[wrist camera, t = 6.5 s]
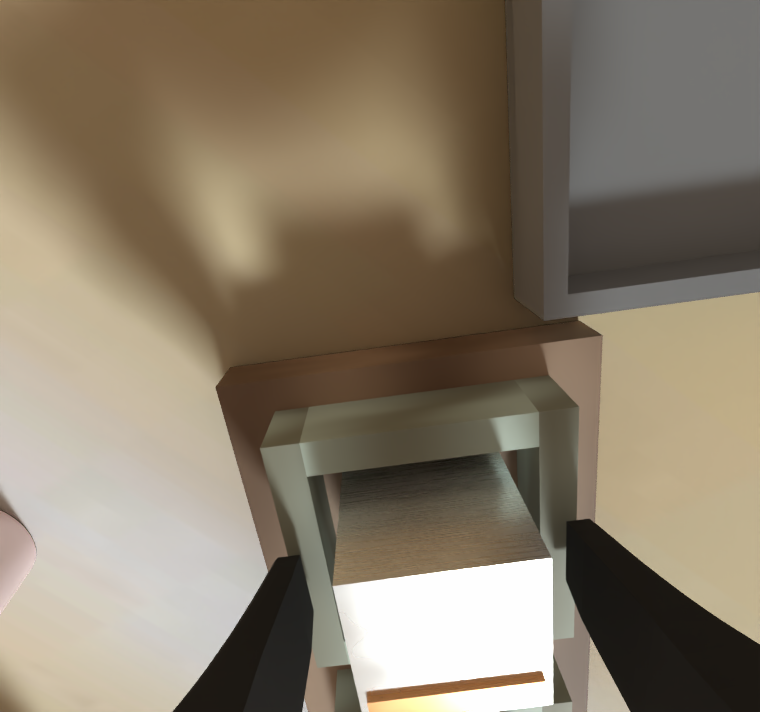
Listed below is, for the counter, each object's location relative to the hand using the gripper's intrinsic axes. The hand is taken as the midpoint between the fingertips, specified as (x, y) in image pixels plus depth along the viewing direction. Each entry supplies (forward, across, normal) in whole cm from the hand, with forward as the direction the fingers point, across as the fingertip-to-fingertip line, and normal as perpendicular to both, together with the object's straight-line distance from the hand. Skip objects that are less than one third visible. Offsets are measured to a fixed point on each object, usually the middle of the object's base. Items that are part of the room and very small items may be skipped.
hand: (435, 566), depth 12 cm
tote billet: (+2, 0, 0) cm, 3 cm away
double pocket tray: (+4, 0, +6) cm, 7 cm away
